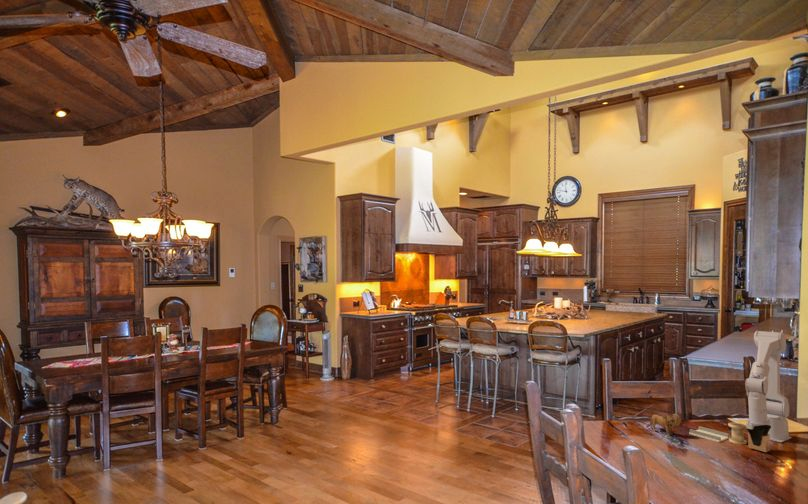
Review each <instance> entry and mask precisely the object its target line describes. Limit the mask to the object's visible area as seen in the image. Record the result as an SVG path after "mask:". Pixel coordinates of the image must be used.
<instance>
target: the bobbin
mask: <svg viewBox="0 0 808 504" xmlns="http://www.w3.org/2000/svg"><path fill="white" fill-rule="evenodd" d="M728 427H729V428H731V431H730V432H731V437H730V438H729V439H728V442H729V443H731V444H734V445H740V446H741V445H743V446H744V445H747V443H748V440H746V439H744V438H745V437H744V430H747V429H746V424H744V423H741V422H734V421H733V422H728Z"/></svg>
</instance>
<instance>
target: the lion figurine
mask: <svg viewBox="0 0 808 504" xmlns="http://www.w3.org/2000/svg"><path fill="white" fill-rule="evenodd" d="M656 424H659V426H660V427H665V429H666V430H665V432H666V435H667V436H671V435H673V431H672V429H675V428H676V427H678V426H680V424H681V418H680V416H679V415H678V414H677V413H673V414H669V415H665V416H664V417H662V416H660V415H659V414H653V415H652V416H651V418H650V422H649V424H648V425H646V428H648V427H650V426H651V427H652V429H653V432H657V431H658V430H657V429H656Z"/></svg>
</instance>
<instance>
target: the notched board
mask: <svg viewBox="0 0 808 504" xmlns="http://www.w3.org/2000/svg"><path fill="white" fill-rule="evenodd" d="M688 435H691V436H695V437H698V438H702V439H705V440H709V441H713V442H716V443H721V442H724V441H726V440H729V438H731V436H730V433H728V432H724V431H720V430H715V429H712V428H708V427H704V426H701V425H700V426H698V429H695V430H694V429H692V428H690V429H689V432H688Z"/></svg>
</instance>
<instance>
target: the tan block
mask: <svg viewBox="0 0 808 504" xmlns="http://www.w3.org/2000/svg"><path fill="white" fill-rule="evenodd" d="M747 443H748V445H747V446H748V448H749V449H753V450H756V451H761V452H764V453H768V452H770V451H771V440H770V435H769V434H765V433H762V436H761V444H760V446H756V445H753V442H752V439H751V436H750V434H749V432H748V431H747Z"/></svg>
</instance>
